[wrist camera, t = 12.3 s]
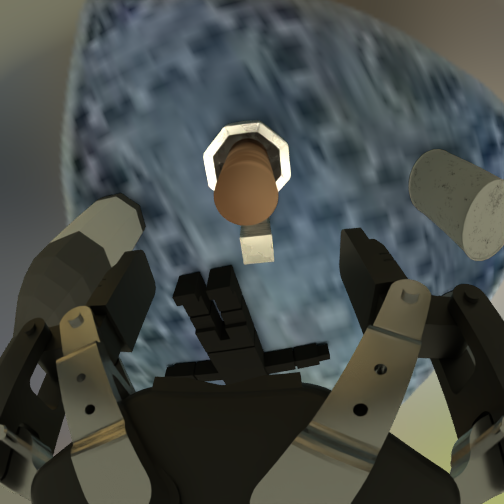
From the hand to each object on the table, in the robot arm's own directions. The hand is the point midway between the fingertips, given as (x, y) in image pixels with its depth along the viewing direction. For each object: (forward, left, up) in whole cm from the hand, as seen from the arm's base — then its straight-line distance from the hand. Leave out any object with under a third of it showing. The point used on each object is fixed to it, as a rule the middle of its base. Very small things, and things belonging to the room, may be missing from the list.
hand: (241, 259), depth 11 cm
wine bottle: (+18, +6, -22) cm, 29 cm away
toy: (+6, +30, -23) cm, 38 cm away
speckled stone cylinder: (-25, +5, -22) cm, 34 cm away
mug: (0, +3, -22) cm, 22 cm away
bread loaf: (0, 0, -19) cm, 19 cm away
